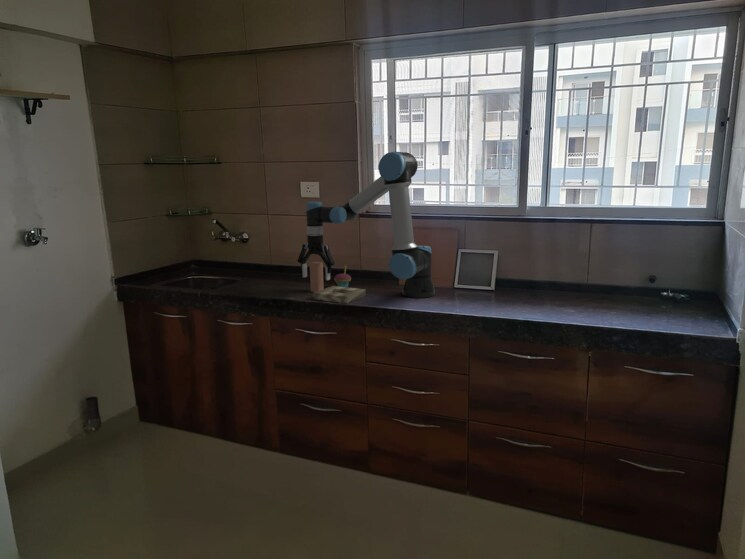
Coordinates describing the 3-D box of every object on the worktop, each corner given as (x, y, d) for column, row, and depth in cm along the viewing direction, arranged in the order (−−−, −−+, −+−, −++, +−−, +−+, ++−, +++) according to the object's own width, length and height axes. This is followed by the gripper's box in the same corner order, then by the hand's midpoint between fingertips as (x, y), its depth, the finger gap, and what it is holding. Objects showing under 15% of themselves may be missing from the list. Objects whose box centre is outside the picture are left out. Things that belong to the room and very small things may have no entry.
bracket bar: (323, 290, 255) (322, 262, 252) (318, 292, 251) (317, 263, 248) (316, 289, 257) (315, 261, 254) (310, 291, 253) (309, 263, 250)
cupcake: (352, 285, 264) (351, 262, 262) (350, 289, 256) (349, 265, 254) (335, 285, 265) (334, 262, 263) (332, 289, 257) (332, 265, 254)
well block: (365, 295, 243) (365, 289, 242) (347, 303, 229) (347, 296, 229) (333, 291, 252) (333, 285, 251) (313, 299, 238) (313, 292, 237)
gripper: (341, 235, 245) (342, 279, 250) (298, 232, 257) (300, 274, 262) (332, 237, 239) (333, 282, 243) (289, 234, 251) (290, 277, 255)
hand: (316, 278), depth 253 cm, fingers open, 13 cm apart
